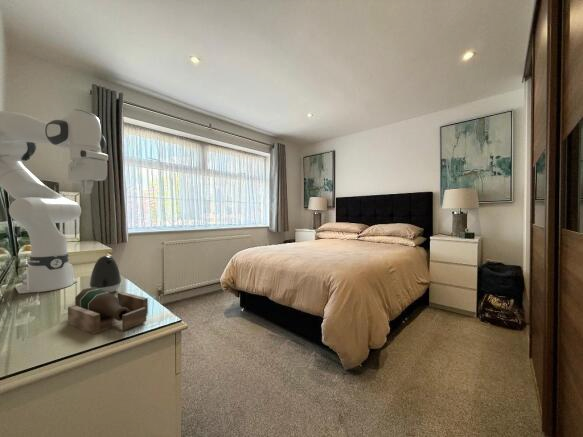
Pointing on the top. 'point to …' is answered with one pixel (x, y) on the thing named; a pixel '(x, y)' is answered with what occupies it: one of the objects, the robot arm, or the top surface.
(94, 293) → the beer bottle
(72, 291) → the top surface
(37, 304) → the top surface
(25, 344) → the top surface
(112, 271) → the dark grey oval piece
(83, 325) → the u rest
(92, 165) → the robot arm
